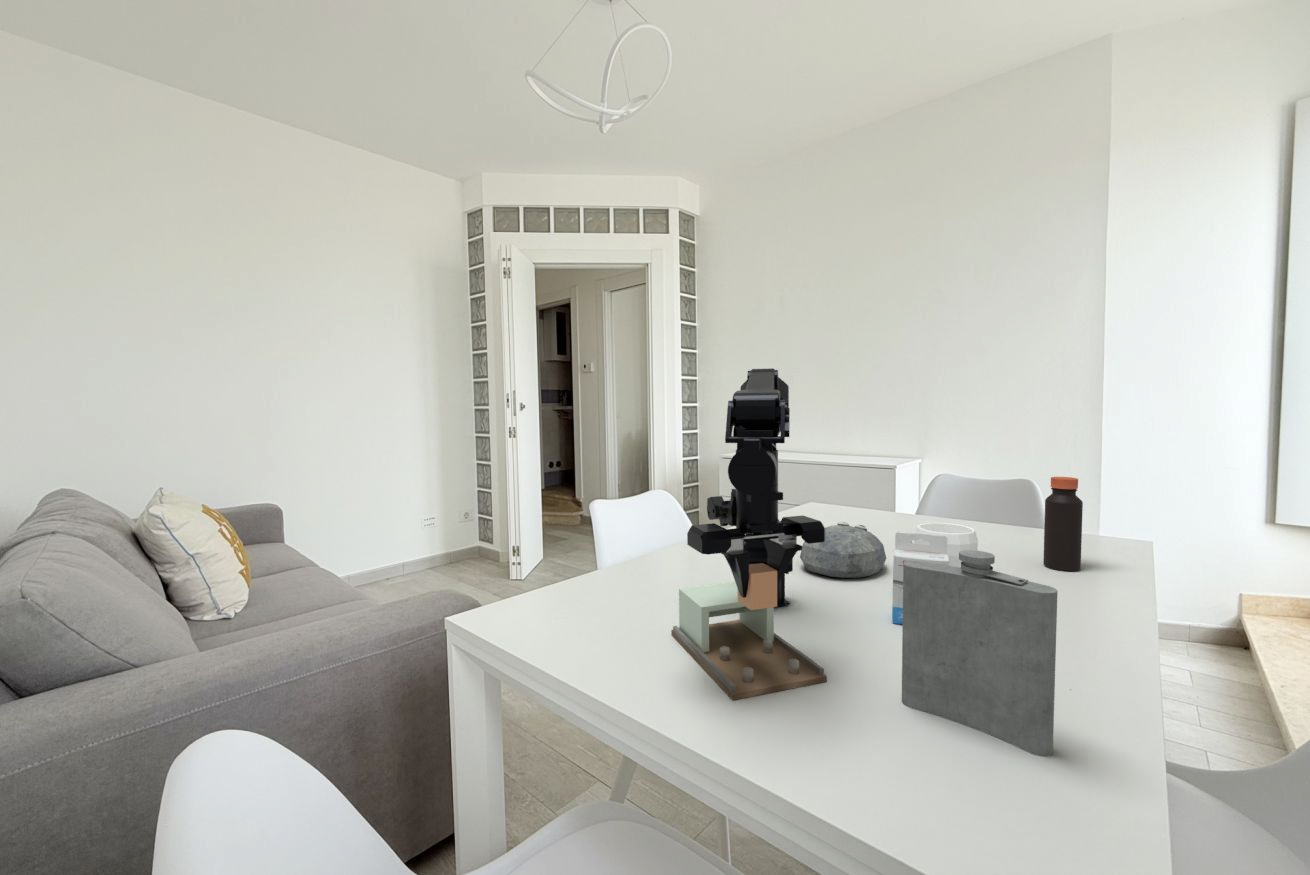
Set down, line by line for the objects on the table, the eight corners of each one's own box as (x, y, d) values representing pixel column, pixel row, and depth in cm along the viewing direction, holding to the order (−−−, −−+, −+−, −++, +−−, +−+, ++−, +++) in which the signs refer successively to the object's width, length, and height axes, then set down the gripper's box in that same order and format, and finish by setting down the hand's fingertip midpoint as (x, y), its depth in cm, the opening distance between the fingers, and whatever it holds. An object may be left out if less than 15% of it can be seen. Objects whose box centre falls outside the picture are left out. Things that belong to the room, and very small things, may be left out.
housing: (745, 620, 96) (745, 580, 96) (773, 640, 88) (773, 597, 87) (679, 630, 92) (678, 588, 92) (701, 652, 84) (701, 607, 84)
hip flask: (897, 702, 71) (899, 544, 70) (911, 691, 74) (913, 538, 73) (1048, 760, 60) (1053, 571, 59) (1058, 744, 62) (1063, 563, 61)
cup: (989, 580, 119) (990, 534, 119) (929, 580, 119) (930, 534, 119) (958, 563, 132) (959, 521, 131) (904, 564, 132) (905, 522, 131)
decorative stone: (782, 569, 129) (782, 525, 129) (837, 553, 142) (837, 513, 142) (851, 588, 116) (851, 539, 115) (904, 569, 128) (905, 524, 128)
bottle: (1039, 567, 127) (1042, 478, 126) (1047, 561, 132) (1050, 475, 131) (1076, 573, 123) (1079, 480, 121) (1084, 567, 127) (1086, 477, 126)
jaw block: (777, 606, 79) (777, 570, 78) (751, 610, 77) (750, 573, 77) (762, 597, 82) (762, 563, 82) (737, 600, 81) (737, 565, 81)
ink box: (891, 624, 97) (892, 537, 96) (892, 614, 101) (893, 531, 100) (948, 631, 93) (949, 542, 92) (947, 621, 97) (948, 535, 97)
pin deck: (748, 623, 98) (748, 609, 98) (826, 681, 77) (826, 664, 77) (671, 634, 93) (671, 620, 93) (732, 700, 72) (732, 682, 72)
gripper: (784, 473, 89) (784, 571, 90) (672, 480, 83) (673, 585, 84) (828, 482, 79) (827, 593, 80) (703, 490, 73) (704, 611, 74)
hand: (757, 594), depth 80 cm, fingers closed on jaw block, 4 cm apart
